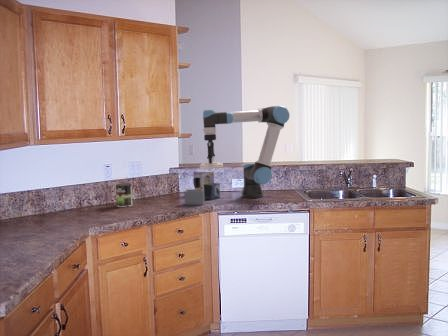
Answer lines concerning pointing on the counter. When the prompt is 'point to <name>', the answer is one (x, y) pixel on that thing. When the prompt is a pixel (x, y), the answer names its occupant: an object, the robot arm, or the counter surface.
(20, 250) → the counter surface
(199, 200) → the tub
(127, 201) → the multicoloured piece
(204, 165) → the lid
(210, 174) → the cake pan box
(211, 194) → the small box
